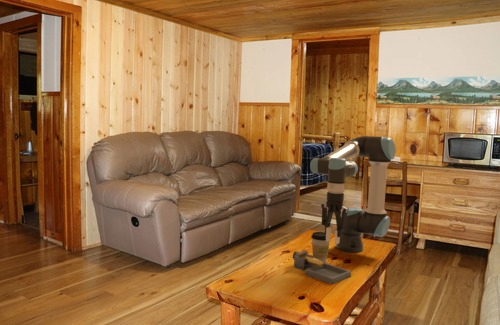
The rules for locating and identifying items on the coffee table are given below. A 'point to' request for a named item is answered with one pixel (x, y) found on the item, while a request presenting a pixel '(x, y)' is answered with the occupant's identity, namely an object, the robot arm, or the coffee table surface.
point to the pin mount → (302, 261)
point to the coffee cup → (320, 246)
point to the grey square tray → (328, 273)
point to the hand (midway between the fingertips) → (332, 242)
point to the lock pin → (311, 260)
